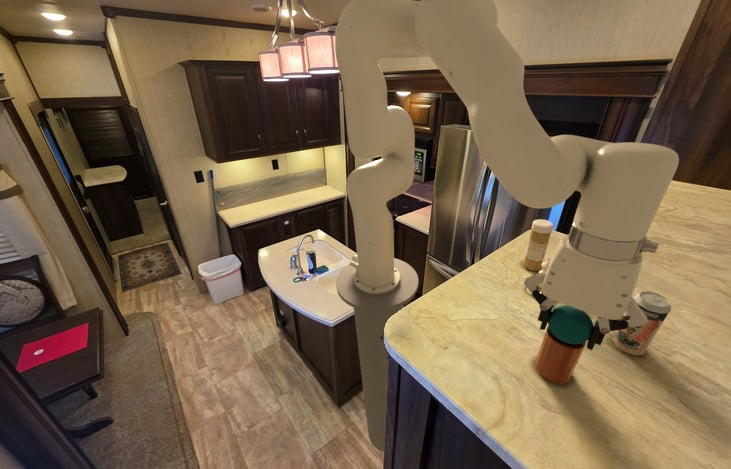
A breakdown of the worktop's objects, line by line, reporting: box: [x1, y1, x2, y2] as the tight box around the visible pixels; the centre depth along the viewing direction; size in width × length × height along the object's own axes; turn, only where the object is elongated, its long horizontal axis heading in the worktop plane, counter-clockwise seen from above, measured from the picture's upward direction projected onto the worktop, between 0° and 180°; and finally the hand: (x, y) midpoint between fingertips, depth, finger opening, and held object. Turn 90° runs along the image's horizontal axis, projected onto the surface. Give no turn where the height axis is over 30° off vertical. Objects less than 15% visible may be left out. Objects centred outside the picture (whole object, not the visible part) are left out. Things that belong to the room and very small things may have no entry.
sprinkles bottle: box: [522, 218, 554, 272], centre depth 75 cm, size 5×5×13 cm
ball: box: [547, 304, 594, 344], centre depth 46 cm, size 6×6×6 cm
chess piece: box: [526, 256, 551, 296], centre depth 67 cm, size 5×5×10 cm
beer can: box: [612, 290, 672, 356], centre depth 52 cm, size 5×5×12 cm
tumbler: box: [534, 326, 587, 385], centre depth 50 cm, size 5×5×9 cm
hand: (566, 333), depth 47 cm, fingers closed on ball, 5 cm apart
